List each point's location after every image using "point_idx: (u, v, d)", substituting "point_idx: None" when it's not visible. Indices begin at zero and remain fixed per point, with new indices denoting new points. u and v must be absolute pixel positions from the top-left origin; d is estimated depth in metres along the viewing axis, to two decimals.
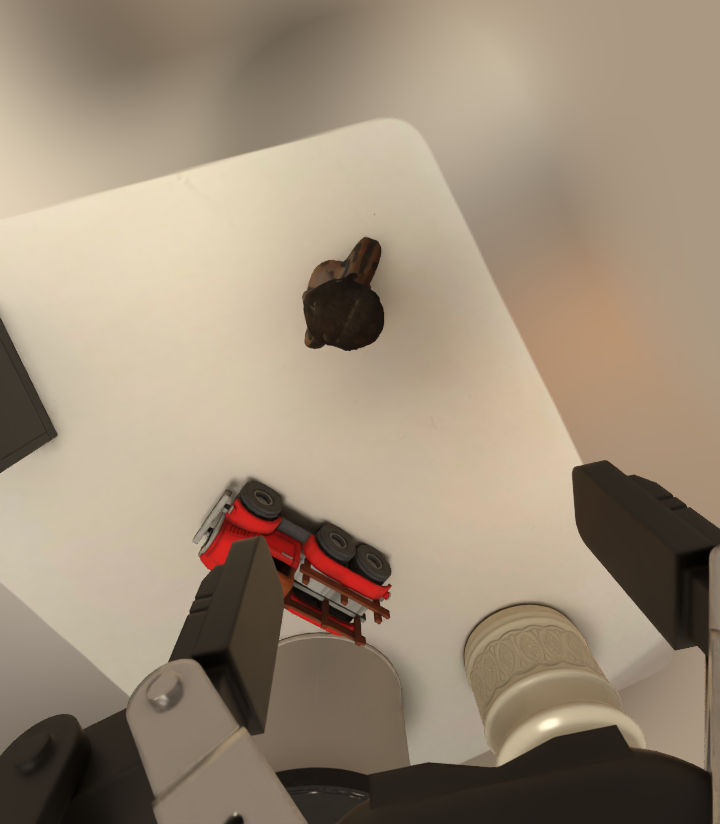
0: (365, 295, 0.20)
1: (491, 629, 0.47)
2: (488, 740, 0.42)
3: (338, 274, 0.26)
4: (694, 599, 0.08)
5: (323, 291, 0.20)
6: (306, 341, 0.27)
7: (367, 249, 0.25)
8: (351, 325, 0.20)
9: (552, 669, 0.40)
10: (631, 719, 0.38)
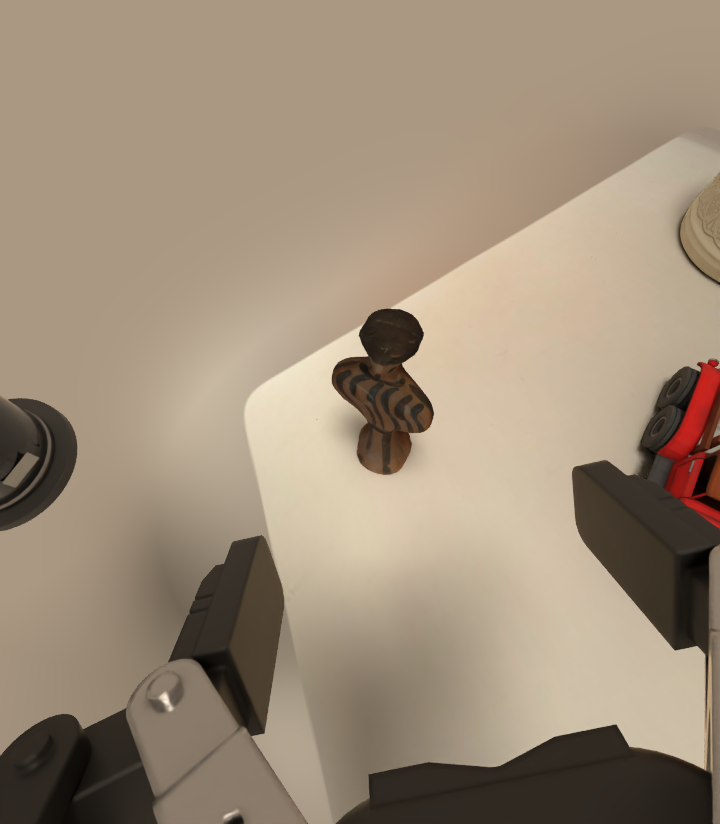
0: (372, 317, 0.23)
1: None
2: None
3: (363, 391, 0.29)
4: (694, 599, 0.08)
5: (370, 342, 0.22)
6: (426, 414, 0.28)
7: (340, 366, 0.29)
8: (399, 322, 0.23)
9: None
10: None
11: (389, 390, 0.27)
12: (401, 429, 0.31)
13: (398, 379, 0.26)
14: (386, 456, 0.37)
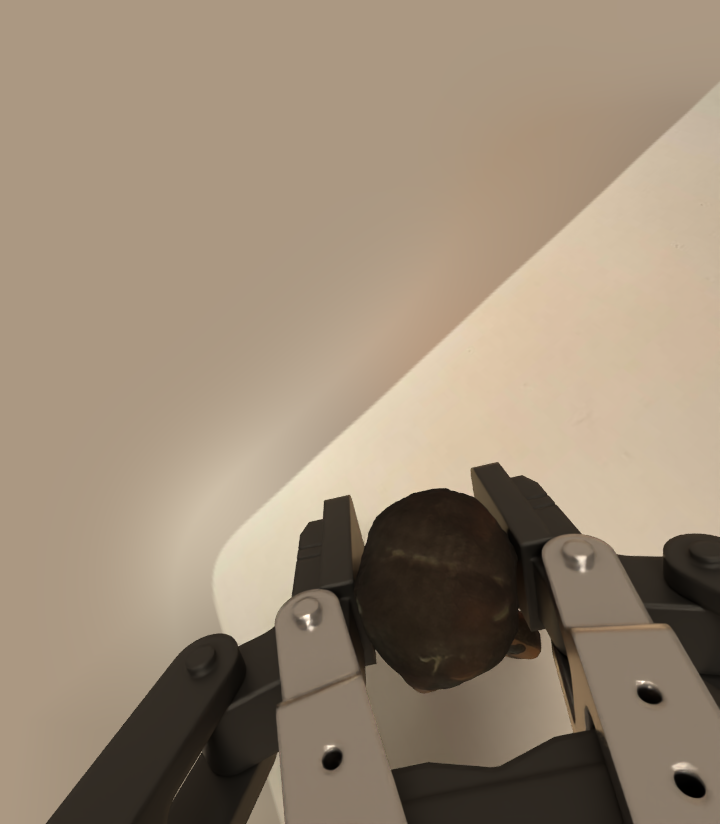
0: (380, 538, 0.09)
1: None
2: None
3: None
4: (538, 585, 0.09)
5: (387, 641, 0.08)
6: (530, 655, 0.13)
7: None
8: (453, 553, 0.09)
9: None
10: None
11: None
12: None
13: None
14: None
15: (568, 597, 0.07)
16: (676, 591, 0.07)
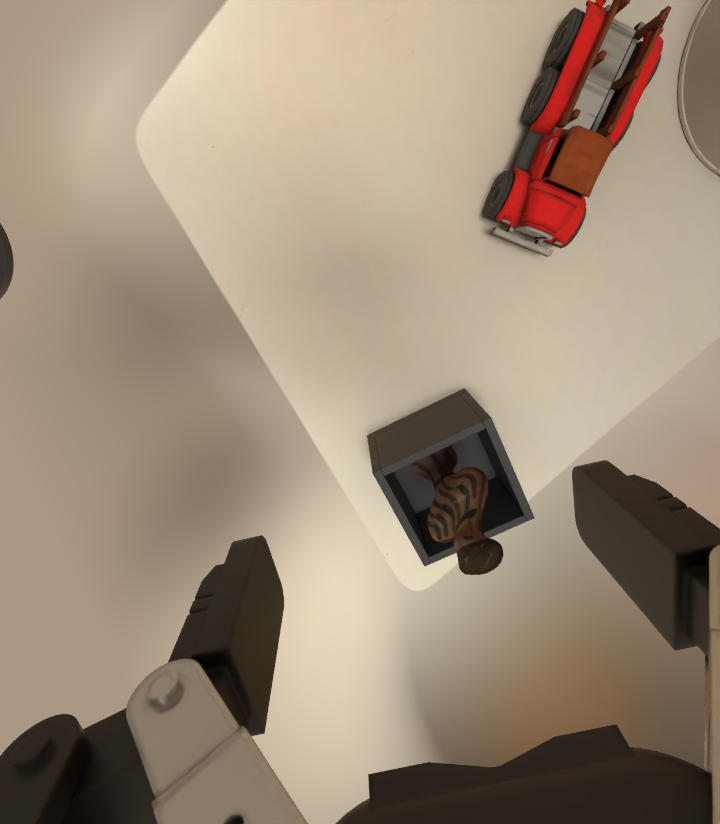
0: (495, 549, 0.33)
1: None
2: None
3: (459, 498, 0.39)
4: (694, 599, 0.08)
5: (473, 551, 0.33)
6: (434, 538, 0.40)
7: (481, 487, 0.38)
8: (486, 567, 0.33)
9: None
10: None
11: (454, 522, 0.38)
12: (432, 505, 0.43)
13: None
14: (422, 468, 0.48)
15: None
16: None
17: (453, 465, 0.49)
